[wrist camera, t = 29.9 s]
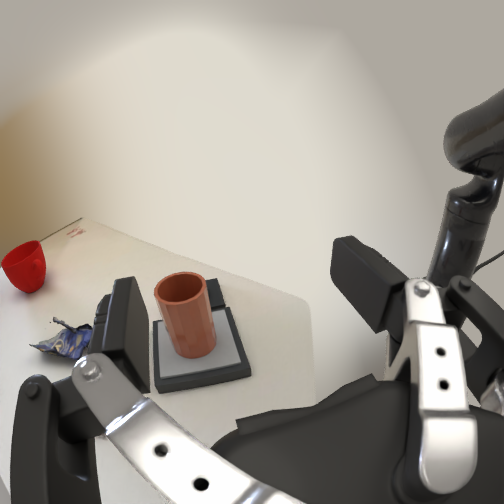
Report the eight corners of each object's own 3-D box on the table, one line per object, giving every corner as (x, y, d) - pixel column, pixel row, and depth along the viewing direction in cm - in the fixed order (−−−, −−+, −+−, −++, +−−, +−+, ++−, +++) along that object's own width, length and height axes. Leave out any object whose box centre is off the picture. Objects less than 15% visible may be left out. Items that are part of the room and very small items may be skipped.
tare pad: (217, 283, 54) (215, 271, 52) (225, 310, 47) (223, 296, 45) (168, 293, 51) (164, 280, 50) (169, 321, 45) (165, 308, 43)
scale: (230, 315, 46) (229, 304, 44) (251, 375, 35) (250, 365, 34) (155, 329, 43) (151, 318, 42) (159, 393, 32) (153, 384, 31)
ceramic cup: (37, 309, 46) (18, 272, 41) (10, 295, 50) (-6, 263, 45) (70, 277, 57) (56, 242, 52) (38, 269, 61) (26, 239, 56)
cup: (212, 322, 41) (202, 267, 36) (220, 353, 35) (209, 298, 30) (171, 330, 40) (154, 276, 34) (174, 362, 34) (153, 308, 29)
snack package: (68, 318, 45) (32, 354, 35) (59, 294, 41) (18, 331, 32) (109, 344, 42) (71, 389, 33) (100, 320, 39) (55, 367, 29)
